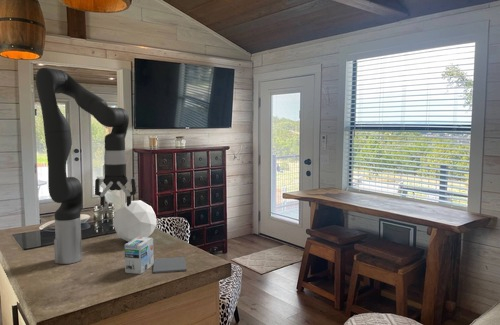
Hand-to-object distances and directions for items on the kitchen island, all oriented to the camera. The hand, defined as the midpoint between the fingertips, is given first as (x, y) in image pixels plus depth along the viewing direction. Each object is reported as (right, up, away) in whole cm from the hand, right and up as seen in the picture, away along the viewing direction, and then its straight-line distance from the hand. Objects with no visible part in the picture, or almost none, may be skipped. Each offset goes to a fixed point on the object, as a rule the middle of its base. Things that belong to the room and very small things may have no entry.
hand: (116, 206), depth 144 cm
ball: (-4, -21, +38) cm, 44 cm away
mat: (+18, -24, +7) cm, 31 cm away
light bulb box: (+8, -24, +3) cm, 26 cm away
